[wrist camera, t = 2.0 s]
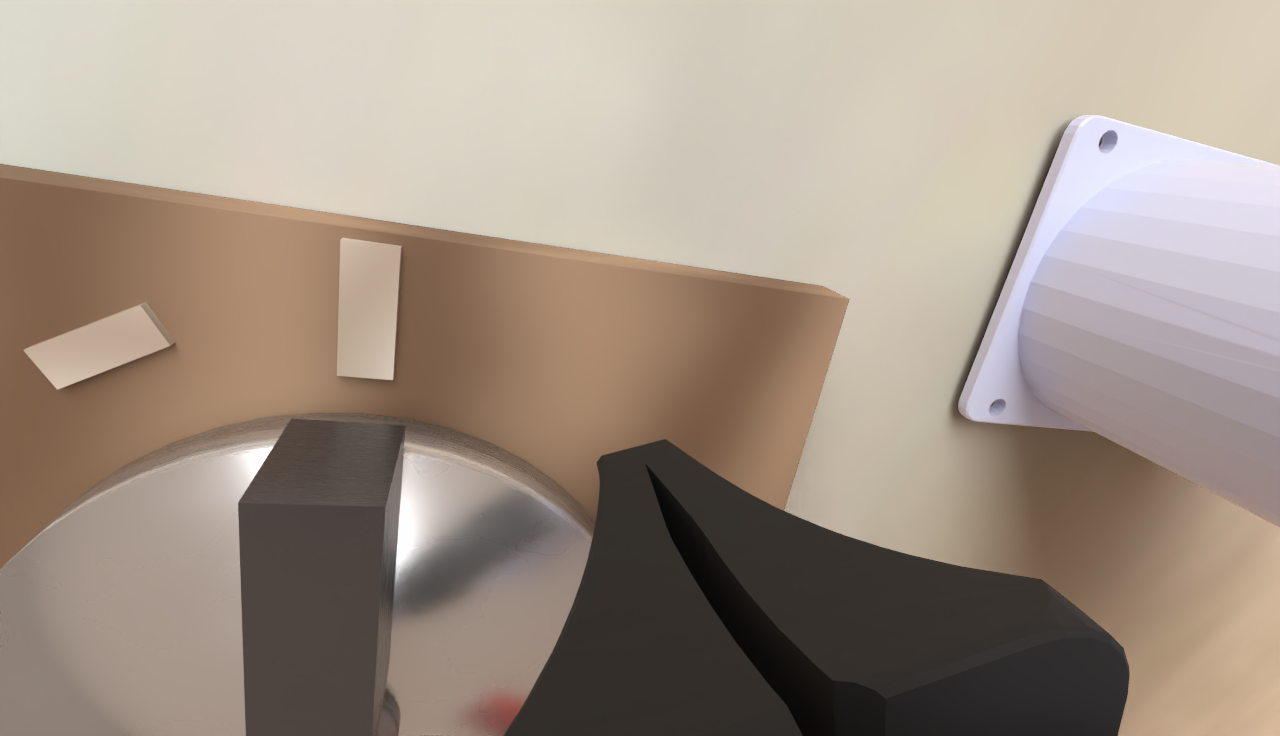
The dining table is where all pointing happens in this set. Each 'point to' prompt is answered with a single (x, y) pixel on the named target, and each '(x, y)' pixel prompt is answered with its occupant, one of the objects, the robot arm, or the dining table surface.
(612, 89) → the dining table surface
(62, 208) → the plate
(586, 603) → the robot arm
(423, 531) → the dial
